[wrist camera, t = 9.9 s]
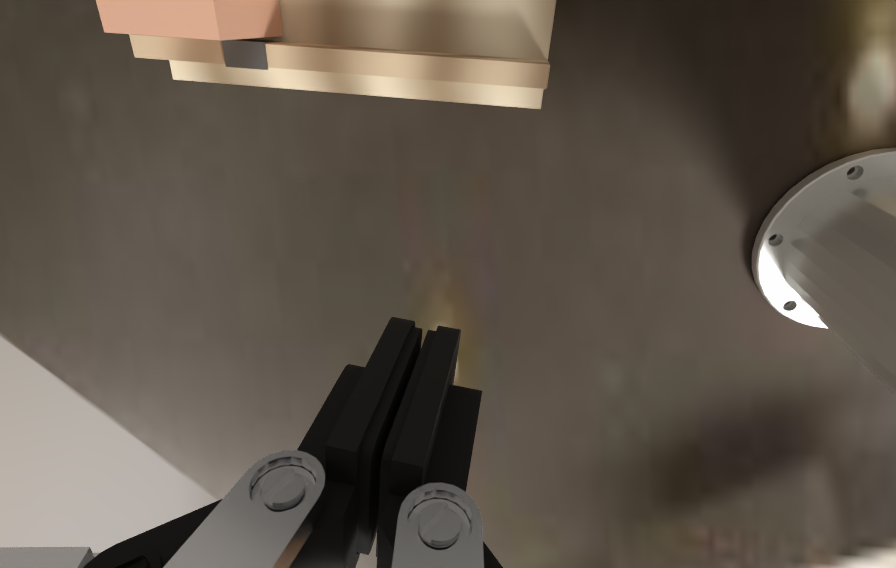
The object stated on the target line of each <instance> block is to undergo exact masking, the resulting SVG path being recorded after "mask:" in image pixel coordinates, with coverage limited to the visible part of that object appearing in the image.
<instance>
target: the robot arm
mask: <svg viewBox="0 0 896 568" xmlns="http://www.w3.org/2000/svg"><path fill="white" fill-rule="evenodd" d="M772 235H773V236H772ZM771 236H772V237H771ZM752 272H753V276H754V280H755V283H756V285H757V287H758V289H759V290H760V292H761V294H762V295H763V296H764V298H765V299H766V300H767V301H768V302H769V304H770V305H771V306H772V307H773V308H775V309H776V310H777V311H778V312H779V313H780V314H782V315H784V316H786V317H788V318H790V319H791V320H793V321H795V322H798V323H802V324H805V325H809V326H812V327H821V328H828V329H829V330H830V331H831V332H832V333H833V334H834V335H835V336H836V337H837V338H838V339H839V340H840V341H841V342H842V343H843V344H844V345H845V346H846V347H847V348H848V349H849V350H850V351H851V352H852V353H853V354H854V355H855V356H856V357H857V358H858V359H859V360H860V361H861V362H862V363H863V364H864V365H865V366H866V367H867V368H868V369H869V370H870V371H871V372H872V373H873V374H874V375H875V376H876V377H877V378H878V379H879V380H880V381H881V382H882V383H883V384H884V385H885V386H886V387H887V388H888V389H889V390H890V391H891V392H892V393H893V394H894V395H895V396H896V147H895V148H884V149H873V150H869V151H865V152H861V153H857V154H853V155H850V156H847V157H845V158H842V159H840V160H837V161H835V162H832V163H830V164H828V165H826V166H824V167H822V168H821V169H819V170H817V171H815V172H814V173H812V174H810V175H808V176H807V177H806V178H804V179H803V180H802V181H800V182H799V183H798V184H796V185H795V186H794V187H793V188H791V189H790V190H789V191H788V192H787V193H786V194H785V195H784V196H783V197H782V198H781V199H780V200H779V201H778V202H777V203H776V204H775V205H774V207H773V208H772V210H771V211H770V213H769V214H768V215H767V217H766V218H765V220H764V221H763V223H762V225H761V227H760V229H759V232H758V234H757V236H756V238H755V243H754V247H753V251H752ZM460 334H461V330H459V329H454V328H448V327H443V326H438V328H437V330H436V331H431V330H428V332H427V335H426V337H425V340H424V343H423V345H422V348H421V340H422V329H421V328H416V327H415V322H414V321H411V320H406V319H401V318H395V317H392V318H391V319H390V321H389V322H388V324H387V326H386V328H385V330H384V332H383V334H382V336H381V338H380V340H379V342H378V344H377V346H376V348H375V350H374V351H373V353H372V355H371V357H370V359H369V361H368V363H367V365H366V367H360V366H355V365H350V364H349V365H347V366H346V367H345V368H344V370H343V371H342V373H341V375H340V377H339V378H338V380H337V382H336V384H335V385H334V387H333V389H332V391H331V392H330V394H329V396H328V397H327V399H326V401H325V403H324V404H323V406H322V408H321V410H320V411H319V413H318V415H317V417H316V418H315V420H314V422H313V424H312V425H311V427H310V429H309V430H308V432H307V434H306V436H305V437H304V439H303V441H302V443H301V444H300V446H299V448H298V450H284V451H279V452H276V453H272V454H269V455H268V456H266V457H264V458H262V459H260V460H258V461H257V462H256V463H255V464H254V465H253V466H252V467H251V468H249V469H248V471H247V472H246V473H245V474H244V475H243V476H242V477H241V479H240V480H239V481H238V482H237V483H236V484H235V486H234V487H233V488H232V489H231V490H230V491H229V492H228V494H227V495H226V496H225V497H224V498H223V499H221V500H219V501H216V502H214V503H212V504H209V505H207V506H205V507H203V508H200V509H198V510H195V511H193V512H191V513H188V514H186V515H184V516H181V517H179V518H177V519H174V520H172V521H170V522H167V523H165V524H163V525H160V526H158V527H155V528H153V529H151V530H149V531H146V532H144V533H141V534H139V535H137V536H134V537H132V538H130V539H127V540H125V541H123V542H120V543H118V544H116V545H114V546H112V547H110V548H108V549H106V550H105V551H103V552H101V553H92V551H91V549H90V547H24V548H22V547H20V548H0V568H355V567H356V564H357V561H358V558H359V555H360V553H363V554H367V555H369V553H370V551H371V548H372V545H373V542H374V539H375V536H376V533H377V546H376V557H377V568H503V567H502V566H501V564H500V563H499V562H498V560H497V559H496V558H495V556H494V555H493V554H492V552H491V551H490V550H489V548H488V547H487V546H486V544H485V543H484V542H483V530H482V519H481V514H480V510H479V508H478V507H477V505H476V503H475V501H474V500H473V499H472V498H471V497H470V496H469V495H468V494H467V493H466V486H467V480H468V474H469V468H470V462H471V456H472V450H473V444H474V438H475V431H476V425H477V419H478V413H479V407H480V401H481V395H482V391H480V390H475V389H470V388H465V387H460V386H455V385H453V383H454V376H455V369H456V362H457V355H458V348H459V341H460ZM420 350H421V351H420Z"/></svg>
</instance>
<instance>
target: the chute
mask: <svg viewBox="0 0 896 568" xmlns="http://www.w3.org/2000/svg"><path fill="white" fill-rule="evenodd" d="M279 1H280V11H281V20H282V30H283V36H279V37H265V38H250V39H235V40H221V41H219V40H205V39H191V38H177V37H163V36H150V35H136V34H129V36H130V40H131V44H132V48H133V52H134V56H135V57H137V58H150V59H163V60H169V62H170V66H171V71H172V76H173V79H175V80H187V81H199V82H212V83H224V84H236V85H249V86H261V87H274V88H286V89H298V90H311V91H323V92H336V93H348V94H360V95H373V96H385V97H398V98H410V99H422V100H435V101H447V102H459V103H472V104H484V105H497V106H509V107H521V108H534V109H541V102H542V95H543V89H547V83H548V77H549V70H550V64H549V62H548V54H549V47H550V40H551V33H552V26H553V19H554V12H555V6H556V0H279Z"/></svg>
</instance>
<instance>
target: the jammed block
mask: <svg viewBox="0 0 896 568" xmlns="http://www.w3.org/2000/svg"><path fill="white" fill-rule="evenodd" d="M96 2H97V6H98V10H99V13H100V17H101V21H102V25H103V28H104V32H108V33H122V34H136V35H150V36H163V37H177V38H191V39H205V40H219V41H221V40H235V39H250V38H265V37H279V36H283V30H282V20H281V11H280V1H279V0H96Z"/></svg>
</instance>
